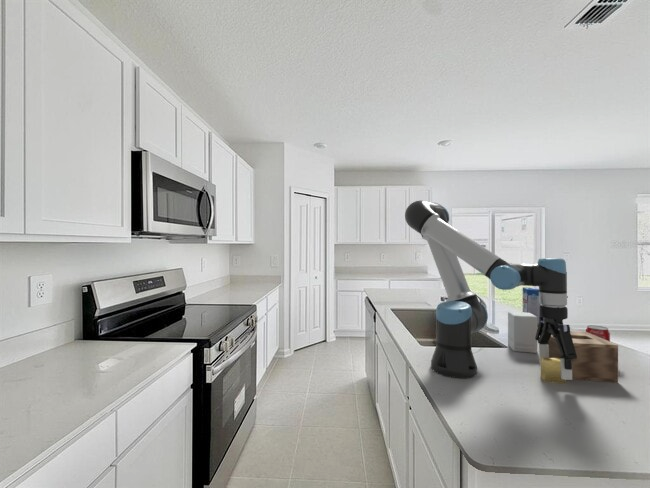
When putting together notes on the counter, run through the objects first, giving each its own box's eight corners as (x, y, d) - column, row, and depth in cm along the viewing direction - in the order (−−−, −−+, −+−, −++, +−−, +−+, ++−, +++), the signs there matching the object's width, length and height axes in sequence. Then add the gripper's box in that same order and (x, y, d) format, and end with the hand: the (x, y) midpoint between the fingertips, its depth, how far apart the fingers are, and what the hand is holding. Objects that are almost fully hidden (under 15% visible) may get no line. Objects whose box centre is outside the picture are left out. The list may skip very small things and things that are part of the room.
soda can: (615, 365, 119) (615, 330, 119) (592, 364, 120) (592, 329, 120) (602, 358, 126) (602, 325, 126) (581, 357, 127) (581, 324, 127)
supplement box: (538, 353, 132) (538, 316, 132) (513, 351, 134) (513, 315, 134) (530, 346, 141) (530, 312, 141) (507, 345, 143) (507, 311, 143)
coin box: (563, 378, 107) (563, 342, 107) (539, 361, 123) (539, 329, 123) (618, 382, 104) (618, 345, 104) (586, 364, 120) (586, 331, 120)
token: (545, 382, 105) (545, 360, 105) (540, 378, 108) (540, 357, 108) (565, 383, 104) (565, 361, 104) (560, 379, 107) (560, 358, 107)
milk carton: (522, 322, 185) (522, 287, 185) (535, 323, 183) (535, 287, 183) (527, 326, 175) (527, 289, 175) (540, 327, 173) (540, 290, 173)
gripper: (590, 313, 93) (592, 387, 92) (546, 299, 117) (547, 358, 117) (561, 312, 94) (563, 386, 94) (523, 299, 119) (525, 357, 118)
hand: (554, 370), depth 105 cm, fingers open, 13 cm apart
